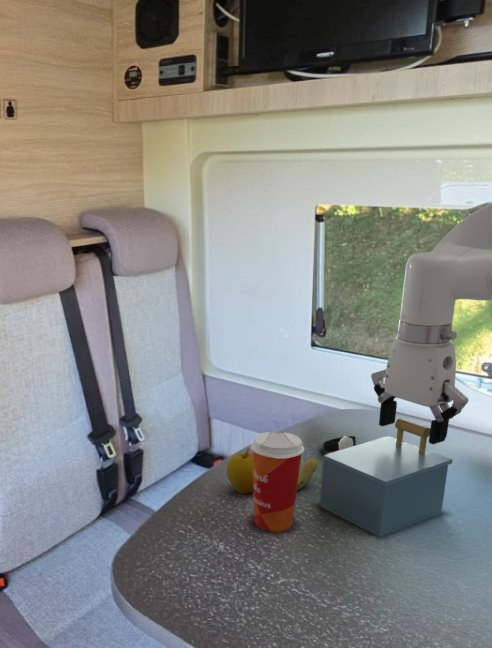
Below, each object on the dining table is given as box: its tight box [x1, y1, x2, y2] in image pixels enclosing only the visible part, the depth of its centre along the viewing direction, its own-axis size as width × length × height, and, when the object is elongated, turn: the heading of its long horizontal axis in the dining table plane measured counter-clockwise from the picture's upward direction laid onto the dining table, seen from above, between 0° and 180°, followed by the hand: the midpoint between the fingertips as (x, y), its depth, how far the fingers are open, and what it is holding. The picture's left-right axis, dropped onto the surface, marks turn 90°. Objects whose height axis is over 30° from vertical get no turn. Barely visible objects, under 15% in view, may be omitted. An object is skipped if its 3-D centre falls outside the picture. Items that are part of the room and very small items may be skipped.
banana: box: [297, 457, 318, 491], centre depth 131 cm, size 10×2×4 cm, turn 136°
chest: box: [319, 459, 449, 538], centre depth 120 cm, size 15×13×9 cm
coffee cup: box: [250, 431, 305, 533], centre depth 117 cm, size 8×8×15 cm
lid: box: [322, 417, 453, 486], centre depth 118 cm, size 16×13×6 cm
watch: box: [322, 435, 357, 453], centre depth 146 cm, size 8×5×4 cm, turn 117°
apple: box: [226, 447, 254, 495], centre depth 130 cm, size 6×6×8 cm
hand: (410, 433), depth 120 cm, fingers open, 9 cm apart
